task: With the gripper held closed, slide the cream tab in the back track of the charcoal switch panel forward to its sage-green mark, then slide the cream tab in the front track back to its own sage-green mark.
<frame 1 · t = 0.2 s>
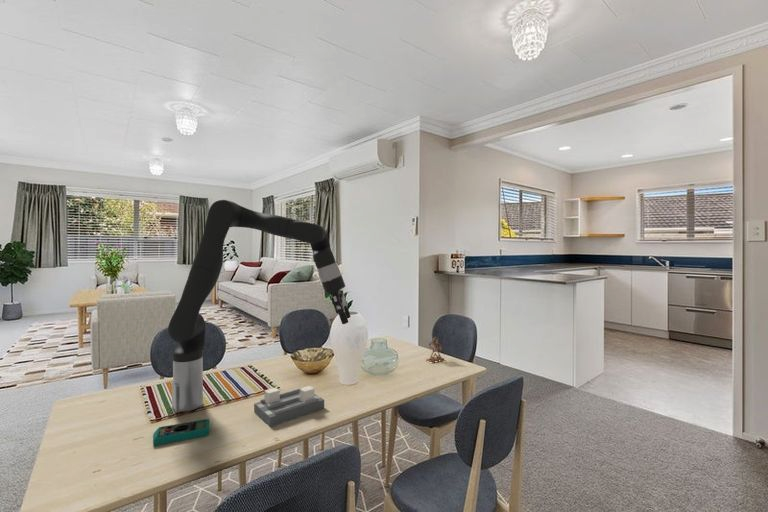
hand: (346, 320, 127), 31 cm above the table, tool tilted 20°, fingers open, 8 cm apart
tab front: (307, 394, 125), point 5 cm above the table, slide at 10.0 cm
brown irregular upright piece: (435, 361, 179), on the table
switch panel: (289, 410, 125), on the table
digital multimeter: (182, 436, 108), on the table
tab back: (272, 396, 124), point 5 cm above the table, slide at 0.0 cm
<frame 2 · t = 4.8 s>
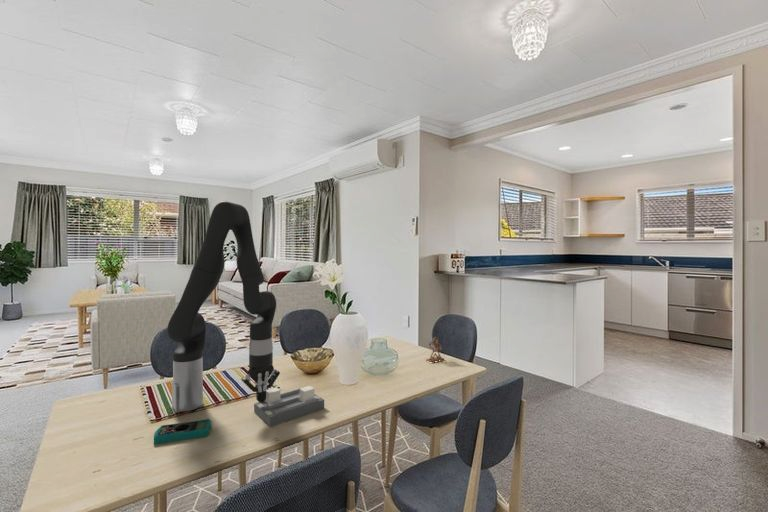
hand: (261, 401, 121), 5 cm above the table, tool pointing down, fingers closed
tab back: (272, 395, 124), point 5 cm above the table, slide at 0.3 cm, touching gripper
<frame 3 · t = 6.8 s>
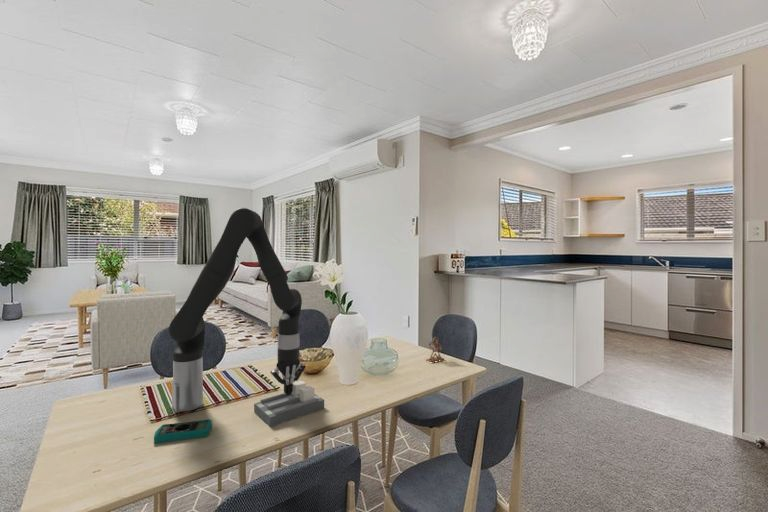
hand: (288, 393, 127), 5 cm above the table, tool pointing down, fingers closed
tab back: (298, 388, 130), point 5 cm above the table, slide at 10.1 cm, touching gripper
everything else where it was.
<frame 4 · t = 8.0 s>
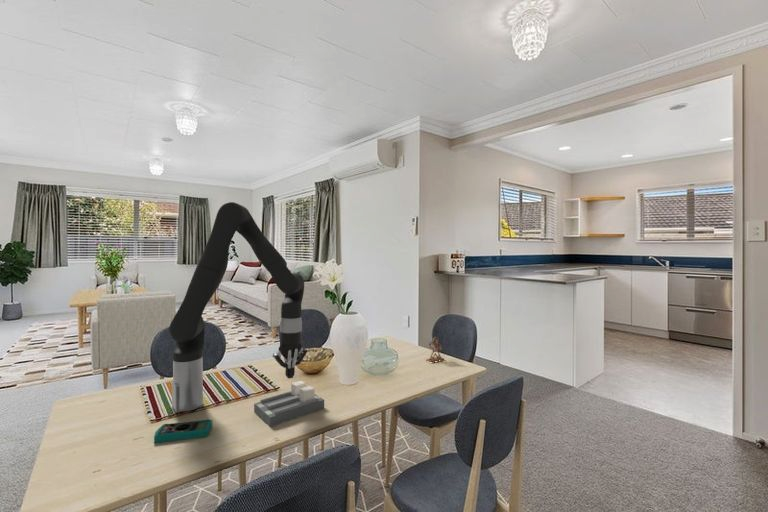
hand: (289, 377, 128), 10 cm above the table, tool pointing down, fingers closed
tab back: (298, 388, 130), point 5 cm above the table, slide at 10.1 cm
everything else where it was.
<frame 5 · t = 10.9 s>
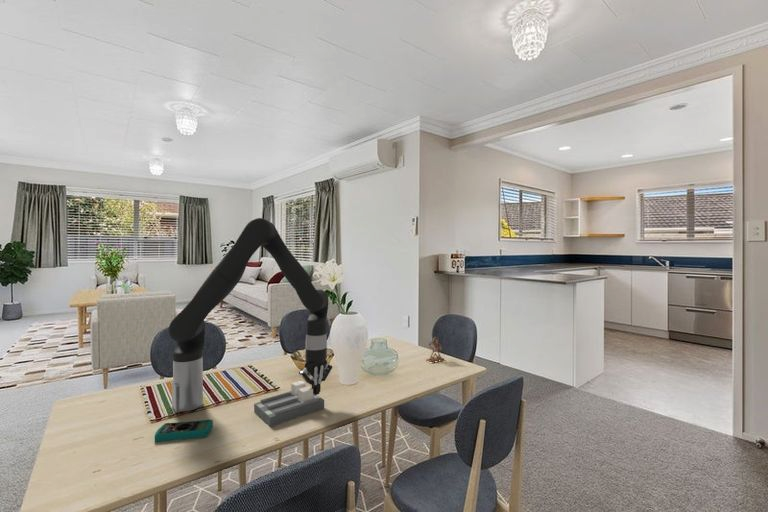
hand: (315, 393, 128), 4 cm above the table, tool pointing down, fingers closed
tab front: (305, 394, 125), point 5 cm above the table, slide at 9.4 cm, touching gripper
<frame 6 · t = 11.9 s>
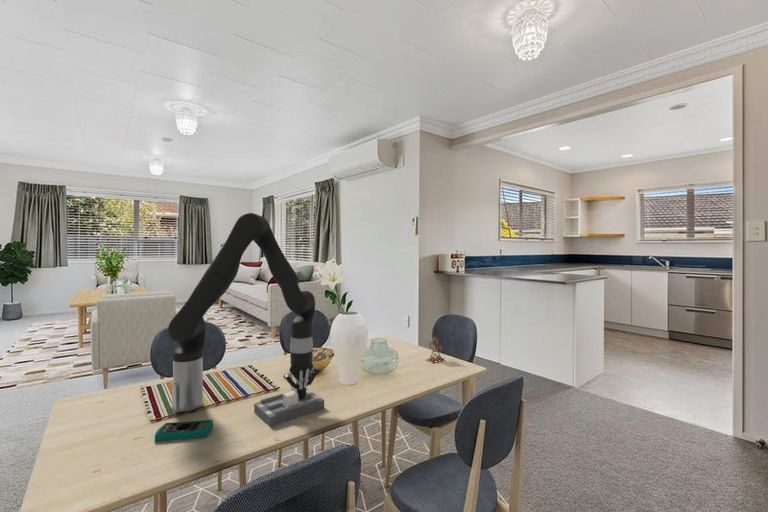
hand: (301, 398, 124), 4 cm above the table, tool pointing down, fingers closed
tab front: (290, 399, 121), point 5 cm above the table, slide at 3.7 cm, touching gripper
everything else where it was.
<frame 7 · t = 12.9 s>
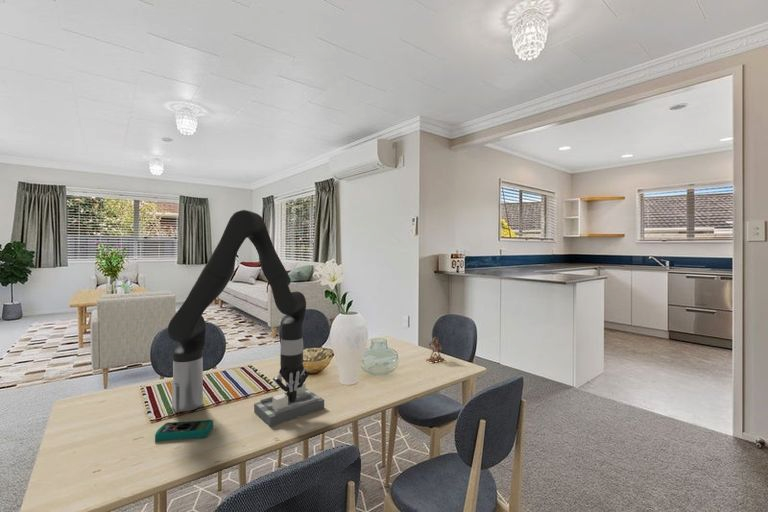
hand: (291, 401, 122), 4 cm above the table, tool pointing down, fingers closed
tab front: (280, 402, 119), point 5 cm above the table, slide at 0.0 cm, touching gripper
everything else where it was.
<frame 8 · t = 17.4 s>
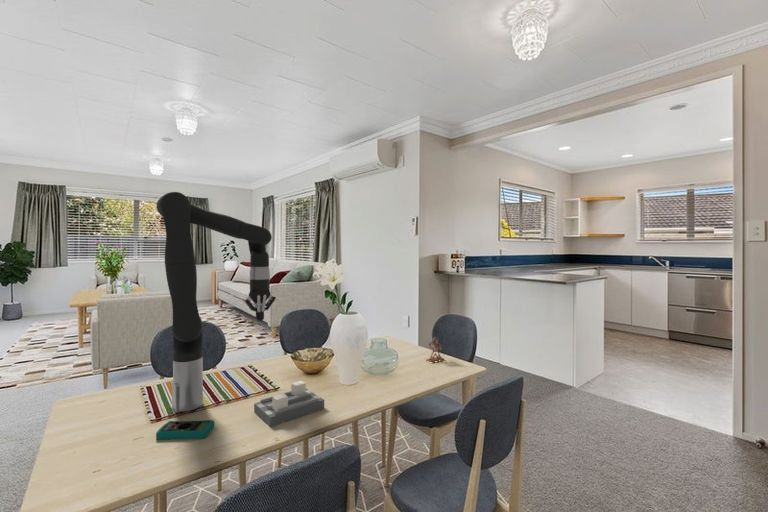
hand: (259, 320, 143), 27 cm above the table, tool pointing down, fingers closed
tab front: (280, 402, 119), point 5 cm above the table, slide at 0.0 cm
at the end: tab back slide at 10.1 cm; tab front slide at 0.0 cm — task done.
